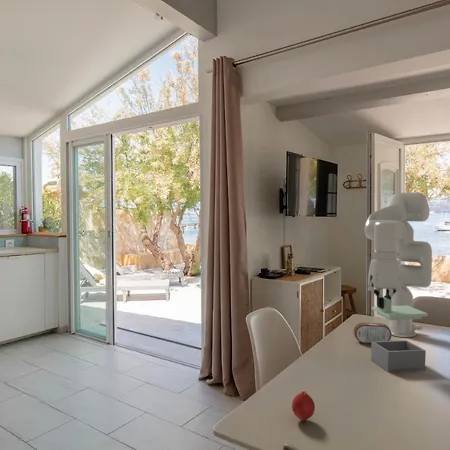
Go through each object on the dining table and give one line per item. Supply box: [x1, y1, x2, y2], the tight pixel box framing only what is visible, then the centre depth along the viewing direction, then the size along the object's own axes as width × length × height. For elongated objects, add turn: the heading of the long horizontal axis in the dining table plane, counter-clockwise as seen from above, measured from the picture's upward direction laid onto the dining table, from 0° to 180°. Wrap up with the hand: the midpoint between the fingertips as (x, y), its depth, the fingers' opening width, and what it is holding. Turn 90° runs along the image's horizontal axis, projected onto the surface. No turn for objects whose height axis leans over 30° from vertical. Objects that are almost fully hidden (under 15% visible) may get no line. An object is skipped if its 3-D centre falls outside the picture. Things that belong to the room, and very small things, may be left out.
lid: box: [371, 296, 429, 321], centre depth 140 cm, size 14×11×7 cm
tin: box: [353, 322, 392, 345], centre depth 164 cm, size 15×3×8 cm, turn 84°
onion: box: [291, 390, 316, 422], centre depth 101 cm, size 6×6×8 cm
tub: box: [370, 339, 427, 373], centre depth 140 cm, size 14×11×7 cm
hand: (383, 307), depth 139 cm, fingers closed on lid
